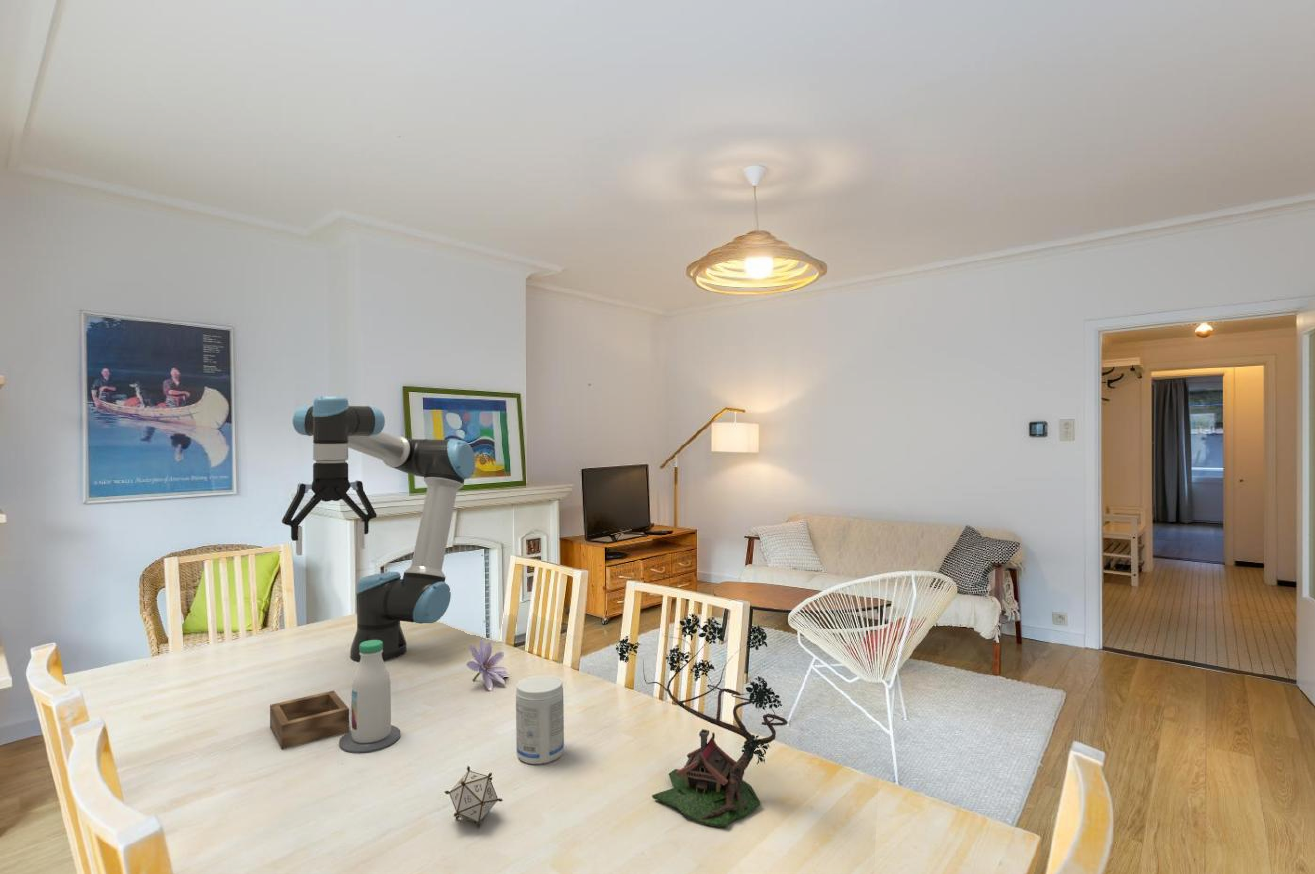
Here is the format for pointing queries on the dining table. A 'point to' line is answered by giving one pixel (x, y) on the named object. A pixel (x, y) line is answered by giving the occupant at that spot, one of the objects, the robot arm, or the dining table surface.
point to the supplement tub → (539, 719)
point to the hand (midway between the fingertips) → (330, 551)
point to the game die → (473, 796)
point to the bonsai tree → (710, 773)
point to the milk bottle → (371, 695)
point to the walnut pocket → (308, 719)
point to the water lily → (487, 664)
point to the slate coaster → (354, 747)
